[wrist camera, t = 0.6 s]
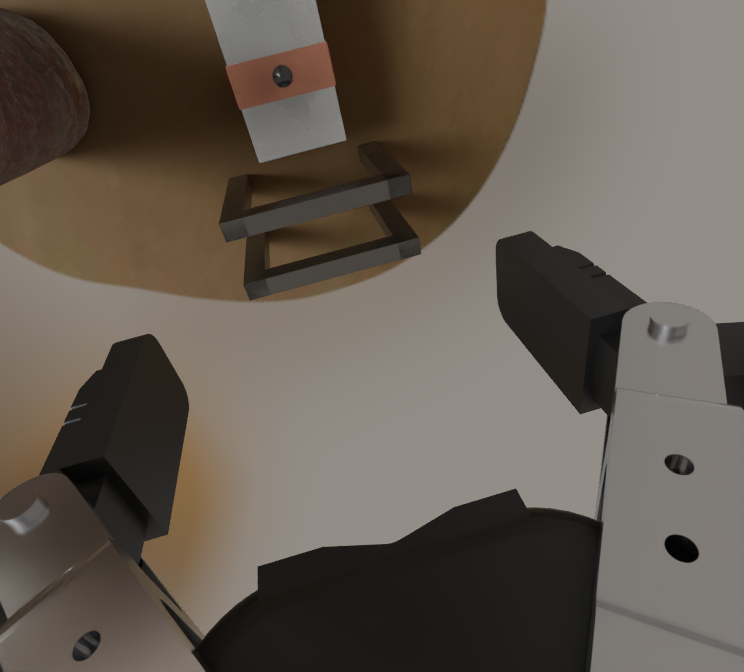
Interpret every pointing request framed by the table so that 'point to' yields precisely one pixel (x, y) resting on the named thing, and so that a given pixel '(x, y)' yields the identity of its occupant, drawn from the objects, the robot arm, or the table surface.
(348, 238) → the table surface
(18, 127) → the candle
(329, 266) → the collar
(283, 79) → the brushed metal post
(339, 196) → the collar
